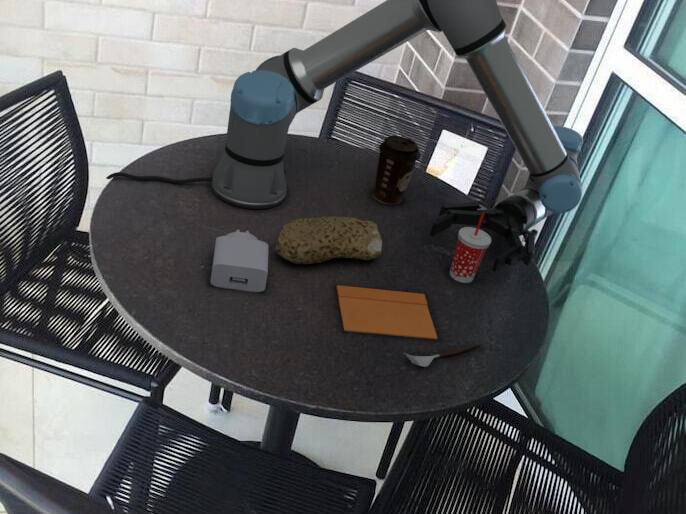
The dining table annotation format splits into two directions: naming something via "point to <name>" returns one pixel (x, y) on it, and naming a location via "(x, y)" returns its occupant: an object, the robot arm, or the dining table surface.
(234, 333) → the dining table surface
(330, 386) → the dining table surface
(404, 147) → the coffee cup
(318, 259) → the sponge
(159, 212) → the dining table surface
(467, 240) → the beverage cup
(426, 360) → the fork
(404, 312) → the cloth
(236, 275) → the charger
